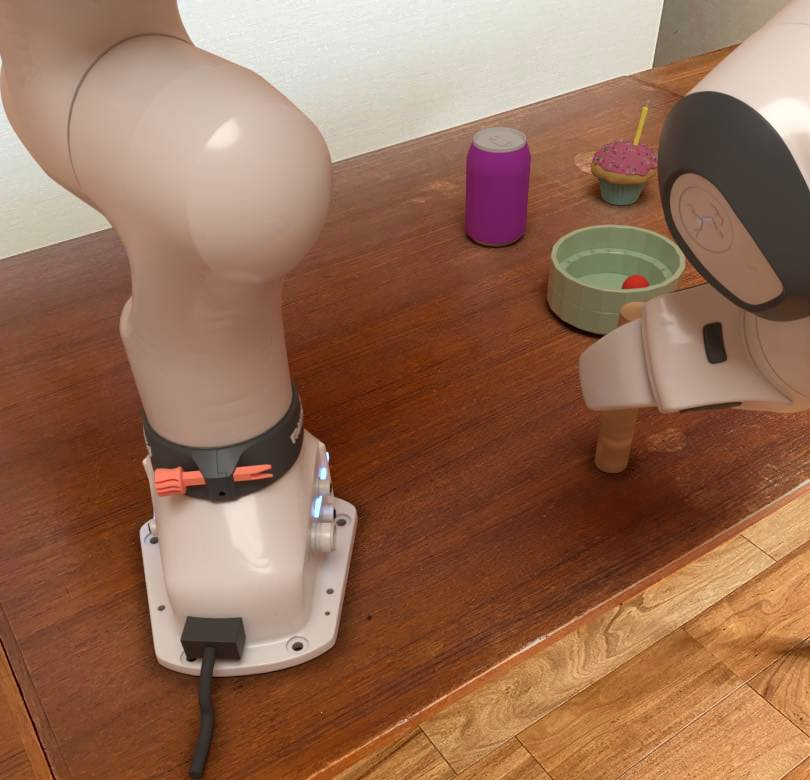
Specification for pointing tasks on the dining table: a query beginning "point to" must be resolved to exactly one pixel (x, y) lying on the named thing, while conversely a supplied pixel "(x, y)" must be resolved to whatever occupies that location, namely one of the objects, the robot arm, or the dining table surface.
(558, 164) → the dining table surface
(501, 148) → the beverage can
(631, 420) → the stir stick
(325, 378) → the dining table surface
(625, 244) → the bowl
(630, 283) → the berry
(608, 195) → the cupcake
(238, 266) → the robot arm
